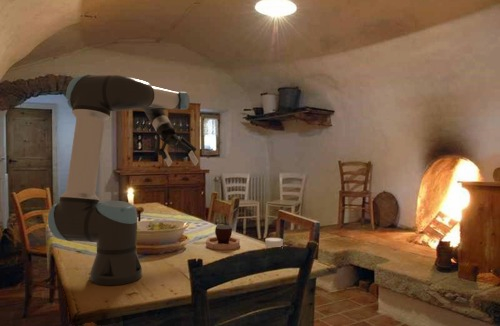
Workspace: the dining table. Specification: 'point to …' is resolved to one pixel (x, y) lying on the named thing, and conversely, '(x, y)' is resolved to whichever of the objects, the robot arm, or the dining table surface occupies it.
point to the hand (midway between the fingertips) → (183, 163)
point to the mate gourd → (224, 231)
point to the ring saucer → (213, 244)
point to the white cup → (273, 242)
